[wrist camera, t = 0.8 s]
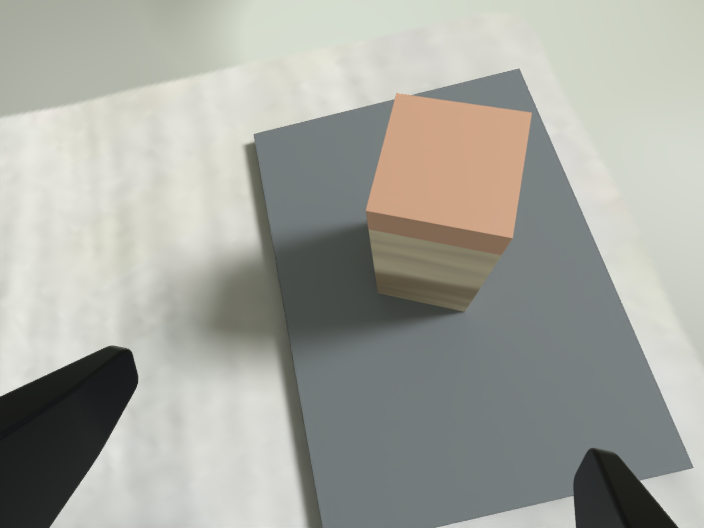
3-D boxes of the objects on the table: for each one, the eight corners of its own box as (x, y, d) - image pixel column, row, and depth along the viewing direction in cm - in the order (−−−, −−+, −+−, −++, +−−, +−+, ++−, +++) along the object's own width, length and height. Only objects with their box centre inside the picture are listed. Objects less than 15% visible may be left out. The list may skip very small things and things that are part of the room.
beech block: (464, 311, 23) (512, 238, 13) (377, 292, 24) (365, 210, 14) (479, 231, 24) (531, 112, 15) (396, 215, 25) (396, 93, 16)
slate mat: (682, 465, 21) (693, 467, 20) (329, 547, 21) (326, 552, 20) (516, 77, 28) (519, 68, 27) (257, 141, 28) (253, 134, 28)
